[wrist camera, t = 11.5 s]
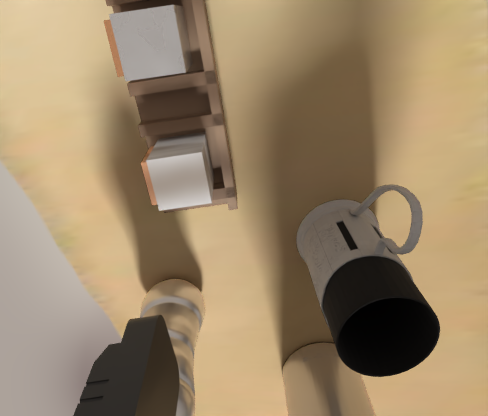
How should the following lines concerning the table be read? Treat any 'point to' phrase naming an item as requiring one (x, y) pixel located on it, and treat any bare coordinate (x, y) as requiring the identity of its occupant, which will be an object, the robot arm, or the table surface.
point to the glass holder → (367, 286)
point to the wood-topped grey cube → (149, 42)
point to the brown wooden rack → (184, 122)
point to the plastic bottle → (179, 330)
